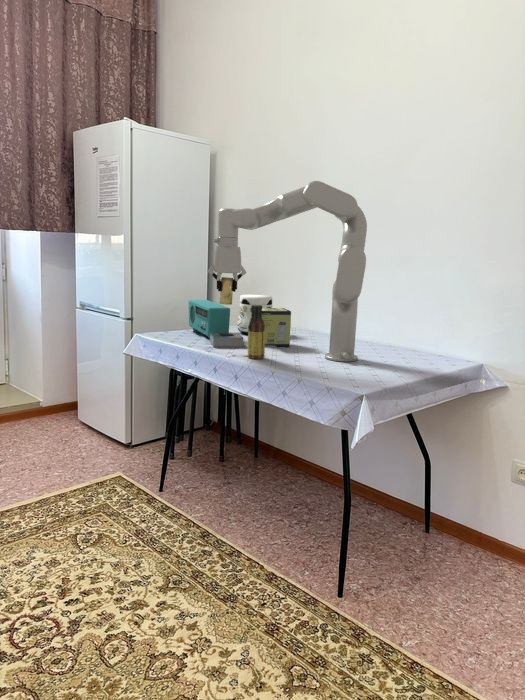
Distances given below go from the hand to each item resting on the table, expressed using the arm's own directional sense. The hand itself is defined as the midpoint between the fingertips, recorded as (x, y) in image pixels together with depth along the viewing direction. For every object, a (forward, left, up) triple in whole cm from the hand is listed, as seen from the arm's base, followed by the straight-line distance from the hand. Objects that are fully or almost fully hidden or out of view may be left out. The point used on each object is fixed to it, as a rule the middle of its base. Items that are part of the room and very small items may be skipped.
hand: (226, 290), depth 204 cm
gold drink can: (0, 0, -5) cm, 5 cm away
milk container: (+46, -21, -24) cm, 56 cm away
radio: (+38, +3, -24) cm, 45 cm away
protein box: (+15, -21, -24) cm, 35 cm away
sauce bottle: (-11, -10, -24) cm, 28 cm away
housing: (+11, -2, -24) cm, 26 cm away
